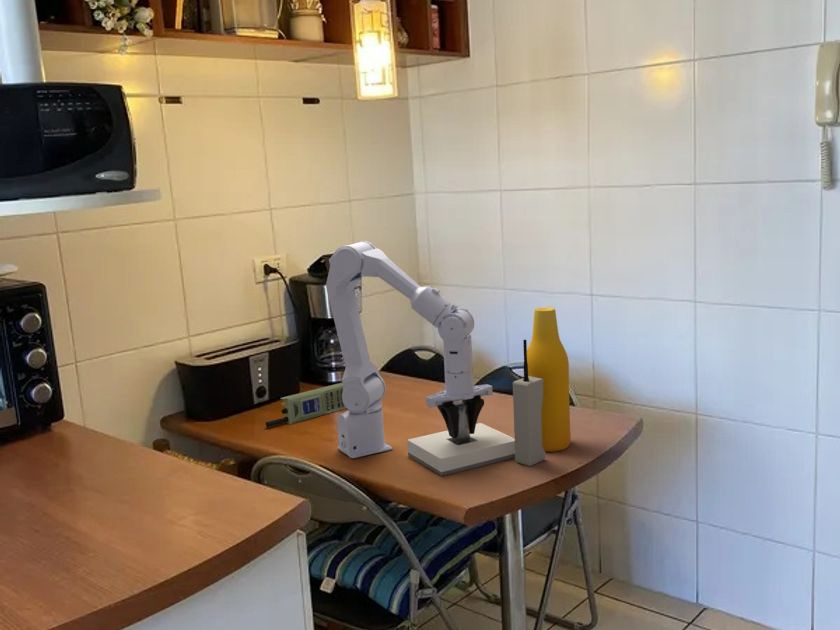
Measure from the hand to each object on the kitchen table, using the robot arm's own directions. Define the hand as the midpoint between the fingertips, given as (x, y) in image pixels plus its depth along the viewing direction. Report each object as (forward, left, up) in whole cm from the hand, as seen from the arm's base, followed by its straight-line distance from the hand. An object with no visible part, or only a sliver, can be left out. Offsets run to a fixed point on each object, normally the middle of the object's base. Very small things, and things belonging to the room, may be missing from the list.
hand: (461, 434), depth 171 cm
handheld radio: (-15, +46, -5) cm, 49 cm away
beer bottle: (+18, -5, -5) cm, 19 cm away
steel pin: (0, 0, -3) cm, 4 cm away
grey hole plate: (0, 0, -5) cm, 5 cm away
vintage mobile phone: (+9, -11, -5) cm, 15 cm away
